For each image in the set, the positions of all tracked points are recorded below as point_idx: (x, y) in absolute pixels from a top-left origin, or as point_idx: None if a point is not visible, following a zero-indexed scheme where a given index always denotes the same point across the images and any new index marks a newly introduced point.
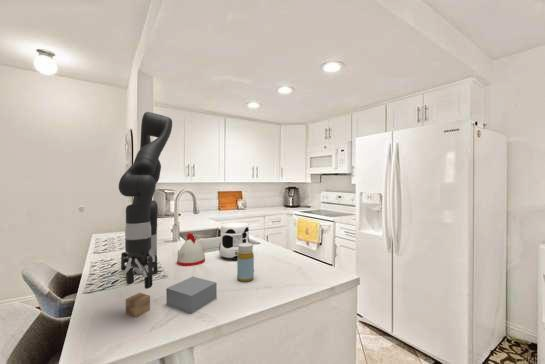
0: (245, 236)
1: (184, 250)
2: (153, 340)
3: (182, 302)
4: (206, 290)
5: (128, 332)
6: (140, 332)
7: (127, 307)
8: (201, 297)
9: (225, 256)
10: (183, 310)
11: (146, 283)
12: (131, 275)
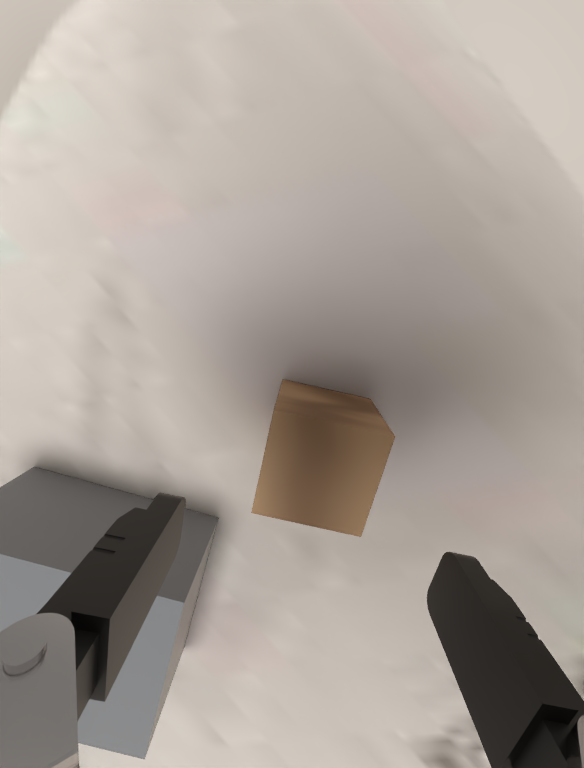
0: None
1: None
2: (24, 209)
3: (66, 512)
4: None
5: (211, 242)
6: (148, 258)
7: (362, 410)
8: None
9: None
10: (91, 483)
11: (131, 536)
12: (482, 682)
